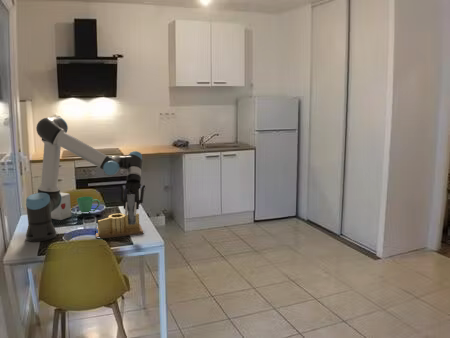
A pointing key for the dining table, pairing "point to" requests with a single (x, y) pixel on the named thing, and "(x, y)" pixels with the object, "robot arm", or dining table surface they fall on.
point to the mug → (86, 203)
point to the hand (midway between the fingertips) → (130, 214)
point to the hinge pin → (131, 208)
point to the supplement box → (62, 208)
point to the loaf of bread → (118, 226)
